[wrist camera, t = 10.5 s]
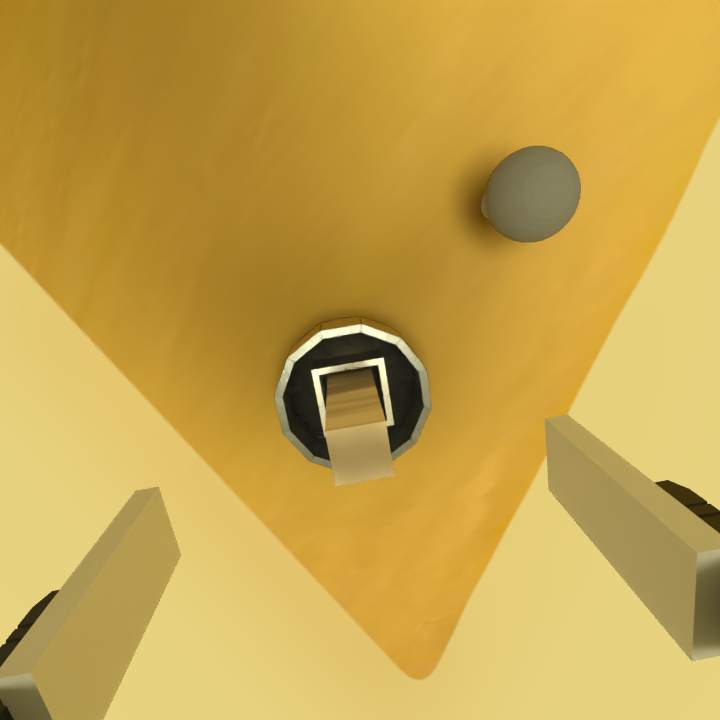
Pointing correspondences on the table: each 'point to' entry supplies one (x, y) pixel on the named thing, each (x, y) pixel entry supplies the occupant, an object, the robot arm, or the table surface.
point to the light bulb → (532, 194)
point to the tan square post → (356, 428)
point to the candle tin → (345, 352)
